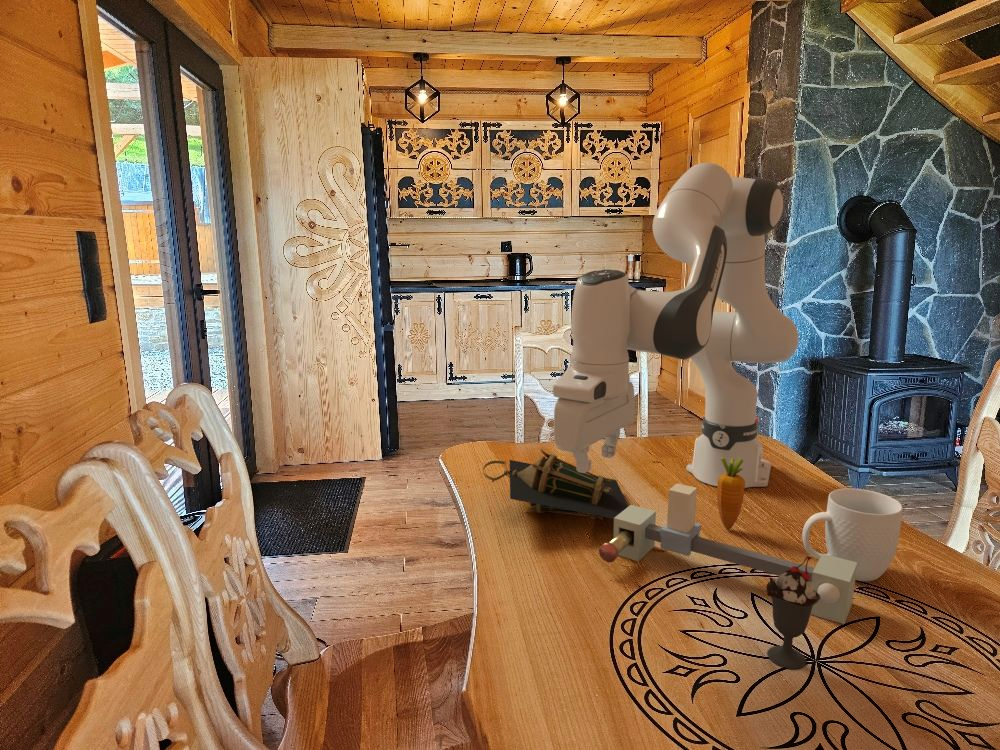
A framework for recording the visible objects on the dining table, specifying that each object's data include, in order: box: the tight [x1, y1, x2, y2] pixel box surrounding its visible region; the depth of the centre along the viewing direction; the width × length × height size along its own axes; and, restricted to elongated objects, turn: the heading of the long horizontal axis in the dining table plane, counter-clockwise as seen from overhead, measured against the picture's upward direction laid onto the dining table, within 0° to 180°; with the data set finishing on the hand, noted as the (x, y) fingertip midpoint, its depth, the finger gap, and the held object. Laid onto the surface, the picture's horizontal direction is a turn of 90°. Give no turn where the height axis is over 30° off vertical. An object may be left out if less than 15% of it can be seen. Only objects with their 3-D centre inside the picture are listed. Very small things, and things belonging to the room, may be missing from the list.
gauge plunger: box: [598, 529, 634, 563], centre depth 116 cm, size 10×3×3 cm, turn 144°
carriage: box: [660, 483, 702, 557], centre depth 115 cm, size 6×5×11 cm
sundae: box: [765, 555, 820, 670], centre depth 90 cm, size 7×7×15 cm
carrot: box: [716, 457, 746, 531], centre depth 128 cm, size 5×5×15 cm
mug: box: [801, 487, 903, 582], centre depth 112 cm, size 15×11×13 cm
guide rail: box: [612, 504, 857, 625], centre depth 111 cm, size 8×38×7 cm, turn 54°
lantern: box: [482, 447, 629, 521], centre depth 137 cm, size 14×23×30 cm
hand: (596, 463), depth 104 cm, fingers open, 7 cm apart
